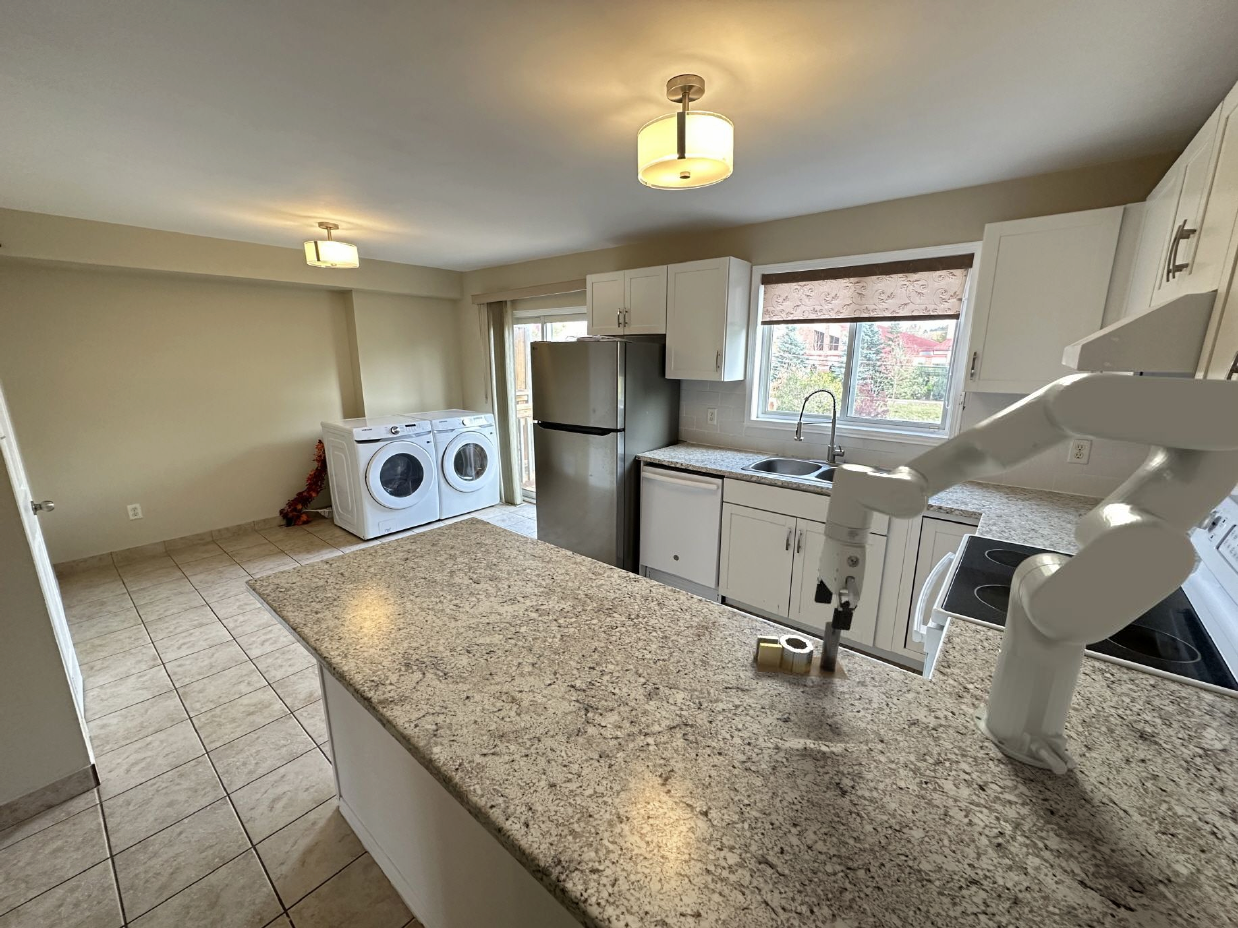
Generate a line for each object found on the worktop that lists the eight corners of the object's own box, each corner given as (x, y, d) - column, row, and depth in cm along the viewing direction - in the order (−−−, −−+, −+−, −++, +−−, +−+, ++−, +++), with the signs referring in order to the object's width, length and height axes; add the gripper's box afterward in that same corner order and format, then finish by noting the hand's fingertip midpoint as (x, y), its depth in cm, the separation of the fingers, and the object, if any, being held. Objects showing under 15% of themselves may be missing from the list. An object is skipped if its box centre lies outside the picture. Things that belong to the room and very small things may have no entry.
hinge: (813, 674, 91) (817, 653, 90) (759, 669, 92) (762, 648, 91) (804, 656, 97) (807, 636, 96) (753, 651, 98) (755, 631, 97)
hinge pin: (837, 672, 92) (843, 629, 91) (822, 670, 93) (828, 628, 91) (832, 663, 95) (838, 622, 93) (817, 662, 95) (823, 620, 94)
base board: (848, 682, 91) (849, 679, 90) (757, 674, 92) (758, 670, 92) (836, 662, 97) (836, 658, 97) (751, 654, 98) (751, 651, 98)
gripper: (889, 551, 80) (870, 643, 84) (849, 518, 97) (834, 596, 100) (843, 546, 80) (826, 638, 84) (811, 514, 97) (798, 592, 101)
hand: (830, 615), depth 92 cm, fingers open, 9 cm apart
